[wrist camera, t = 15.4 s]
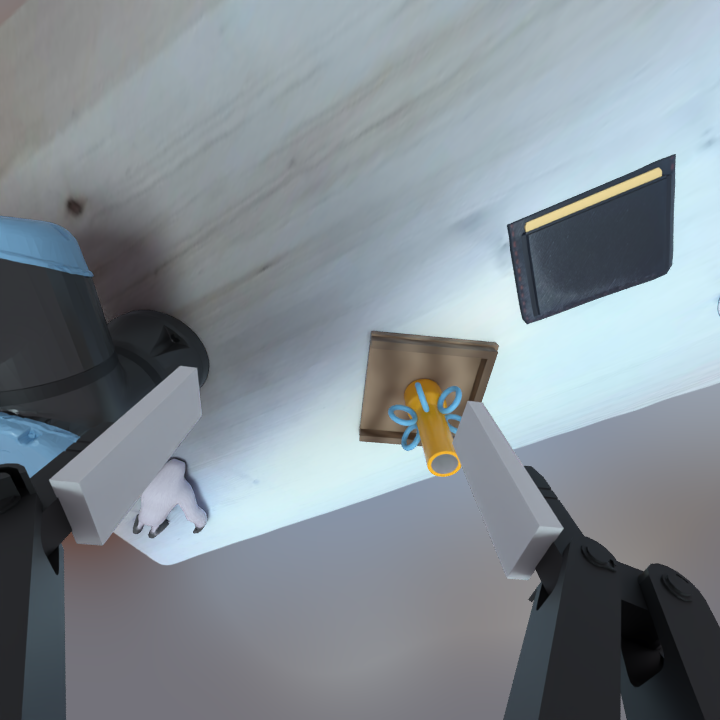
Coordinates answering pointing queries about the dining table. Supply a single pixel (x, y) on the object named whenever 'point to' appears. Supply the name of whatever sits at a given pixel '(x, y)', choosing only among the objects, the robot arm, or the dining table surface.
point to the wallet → (595, 242)
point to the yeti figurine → (168, 500)
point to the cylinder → (430, 424)
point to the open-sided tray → (419, 361)
